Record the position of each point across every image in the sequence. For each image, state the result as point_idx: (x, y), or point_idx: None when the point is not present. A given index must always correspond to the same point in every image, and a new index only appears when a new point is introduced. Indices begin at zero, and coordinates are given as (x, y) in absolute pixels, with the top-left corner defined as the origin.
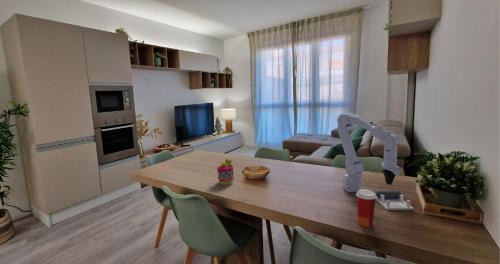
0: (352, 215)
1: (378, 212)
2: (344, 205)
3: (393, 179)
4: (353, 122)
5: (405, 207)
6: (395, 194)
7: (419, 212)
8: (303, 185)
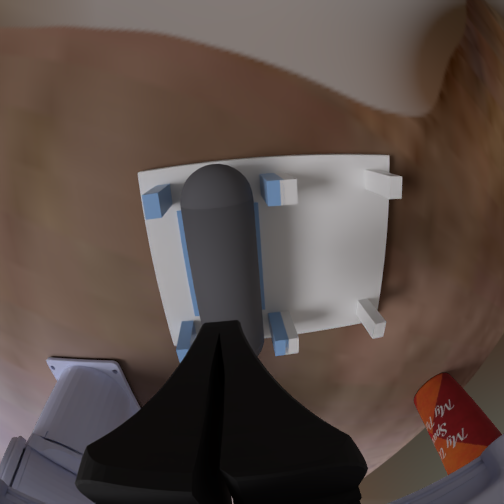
0: (380, 420)
1: (384, 349)
2: None
3: (257, 360)
4: None
5: (382, 205)
6: (253, 234)
7: (409, 135)
8: None
